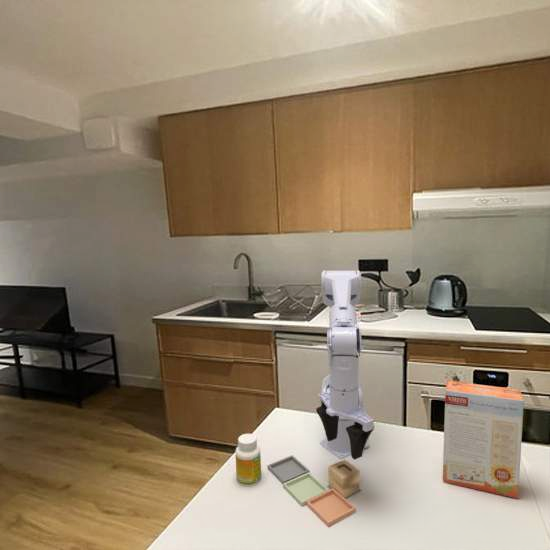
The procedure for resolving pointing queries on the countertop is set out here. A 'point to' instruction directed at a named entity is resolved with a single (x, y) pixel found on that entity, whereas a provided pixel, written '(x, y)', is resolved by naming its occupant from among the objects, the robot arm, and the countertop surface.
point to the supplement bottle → (248, 461)
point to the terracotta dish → (331, 507)
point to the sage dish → (304, 488)
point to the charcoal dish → (287, 469)
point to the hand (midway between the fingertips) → (344, 447)
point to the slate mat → (350, 495)
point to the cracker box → (483, 437)
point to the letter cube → (344, 478)
